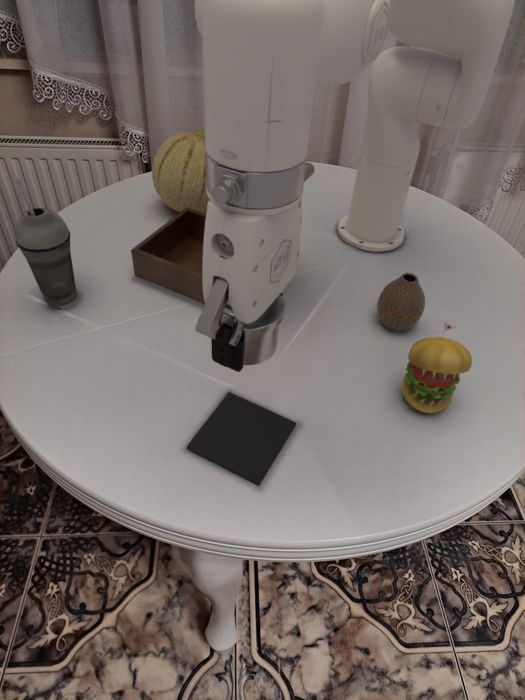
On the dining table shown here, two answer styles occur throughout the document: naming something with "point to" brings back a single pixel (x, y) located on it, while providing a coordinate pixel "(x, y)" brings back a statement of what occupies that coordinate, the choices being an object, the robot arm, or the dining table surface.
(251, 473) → the mat
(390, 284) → the vase
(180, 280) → the chest
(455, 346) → the hamburger
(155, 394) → the dining table surface
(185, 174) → the cantaloupe
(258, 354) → the bowl
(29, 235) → the beverage cup
